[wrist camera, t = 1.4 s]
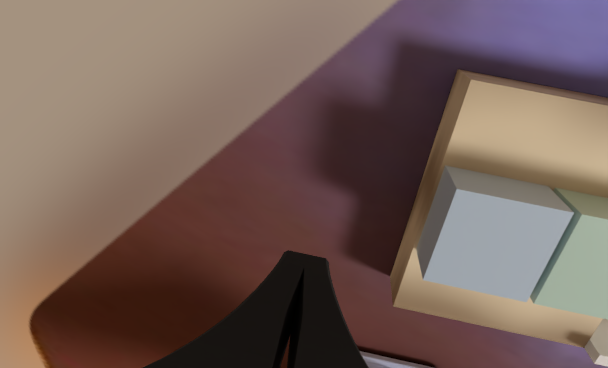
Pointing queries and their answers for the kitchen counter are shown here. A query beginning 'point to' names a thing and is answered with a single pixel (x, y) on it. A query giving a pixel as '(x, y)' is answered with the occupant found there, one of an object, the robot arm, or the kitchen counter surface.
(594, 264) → the tile
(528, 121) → the oak plate
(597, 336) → the box
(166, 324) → the kitchen counter surface
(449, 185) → the tile
